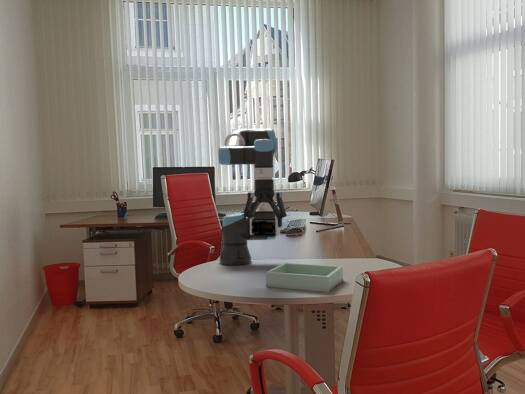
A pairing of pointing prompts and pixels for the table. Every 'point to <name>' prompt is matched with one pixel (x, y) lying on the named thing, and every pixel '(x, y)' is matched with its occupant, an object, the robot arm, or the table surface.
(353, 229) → the table surface
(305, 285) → the walled box
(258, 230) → the end cap
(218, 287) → the table surface
